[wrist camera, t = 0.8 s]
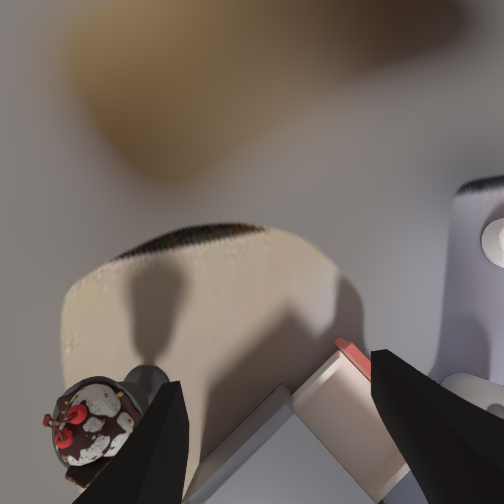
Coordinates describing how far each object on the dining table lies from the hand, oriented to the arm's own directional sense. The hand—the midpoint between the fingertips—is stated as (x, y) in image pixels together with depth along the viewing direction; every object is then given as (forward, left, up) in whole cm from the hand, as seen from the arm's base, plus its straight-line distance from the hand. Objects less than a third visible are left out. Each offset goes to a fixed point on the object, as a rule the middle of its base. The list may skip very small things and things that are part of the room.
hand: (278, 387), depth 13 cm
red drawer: (-10, +1, -21) cm, 24 cm away
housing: (-10, +8, -22) cm, 26 cm away
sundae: (+5, +13, -22) cm, 26 cm away
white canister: (-16, -9, -22) cm, 29 cm away
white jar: (-9, -23, -23) cm, 34 cm away
